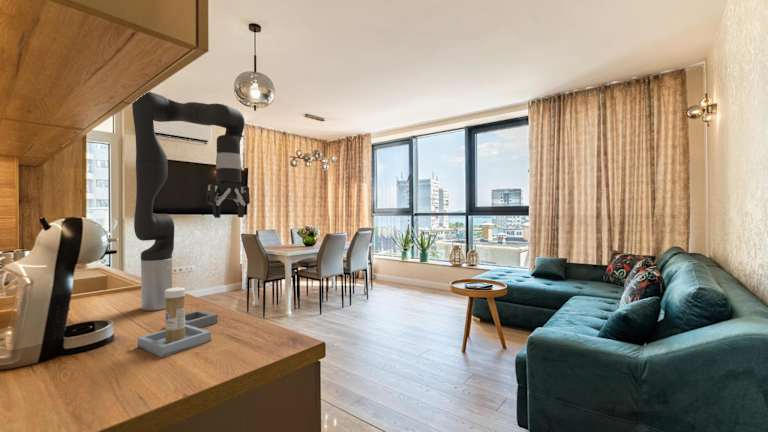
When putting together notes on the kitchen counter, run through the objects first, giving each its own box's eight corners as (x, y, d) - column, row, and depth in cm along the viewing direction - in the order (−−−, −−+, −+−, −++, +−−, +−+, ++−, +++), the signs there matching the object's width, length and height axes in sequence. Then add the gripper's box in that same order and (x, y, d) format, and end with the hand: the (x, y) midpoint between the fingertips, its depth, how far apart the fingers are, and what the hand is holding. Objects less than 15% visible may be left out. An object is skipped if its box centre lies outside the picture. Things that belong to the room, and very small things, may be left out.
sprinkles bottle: (161, 342, 88) (160, 290, 88) (177, 336, 92) (176, 286, 92) (174, 344, 87) (173, 291, 86) (190, 338, 91) (189, 287, 91)
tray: (137, 347, 87) (137, 337, 87) (185, 332, 98) (185, 324, 98) (162, 357, 81) (162, 347, 81) (210, 340, 91) (210, 331, 91)
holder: (167, 326, 103) (167, 317, 103) (199, 317, 111) (199, 309, 111) (185, 332, 98) (185, 323, 98) (217, 322, 106) (217, 314, 106)
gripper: (240, 170, 121) (240, 216, 122) (201, 166, 109) (201, 217, 109) (254, 169, 117) (255, 217, 118) (215, 165, 105) (216, 218, 106)
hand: (229, 217), depth 114 cm, fingers open, 8 cm apart
